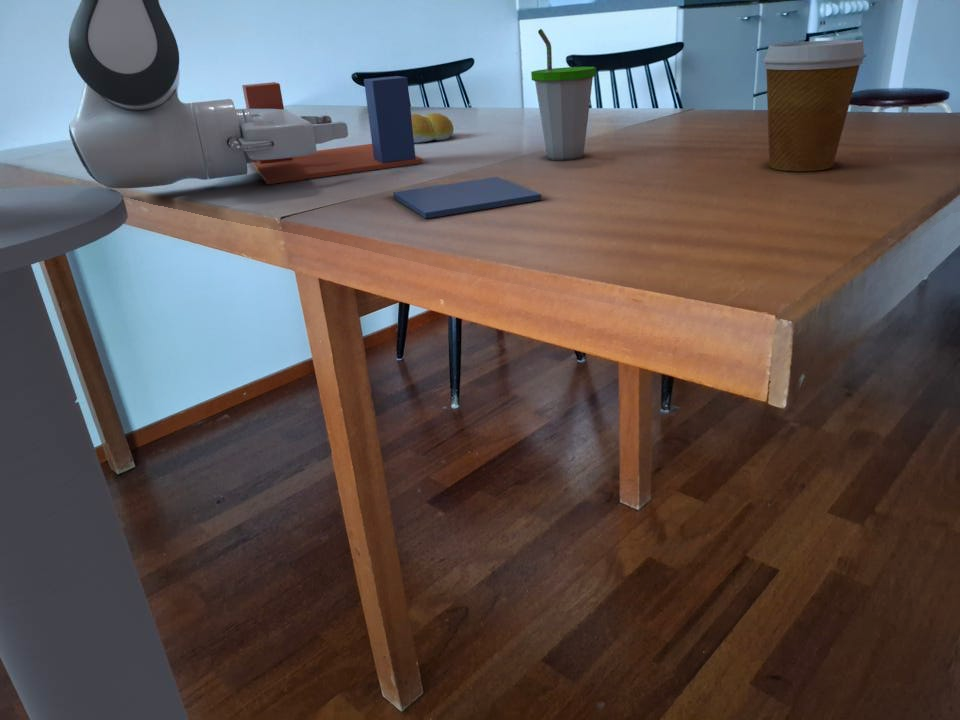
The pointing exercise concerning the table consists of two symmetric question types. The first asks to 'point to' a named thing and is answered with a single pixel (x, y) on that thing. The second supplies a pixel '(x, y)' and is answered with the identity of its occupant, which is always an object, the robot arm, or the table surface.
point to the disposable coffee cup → (809, 100)
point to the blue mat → (465, 197)
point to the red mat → (326, 164)
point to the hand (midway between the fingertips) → (338, 125)
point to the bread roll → (431, 127)
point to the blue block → (390, 118)
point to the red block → (264, 101)
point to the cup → (563, 106)
